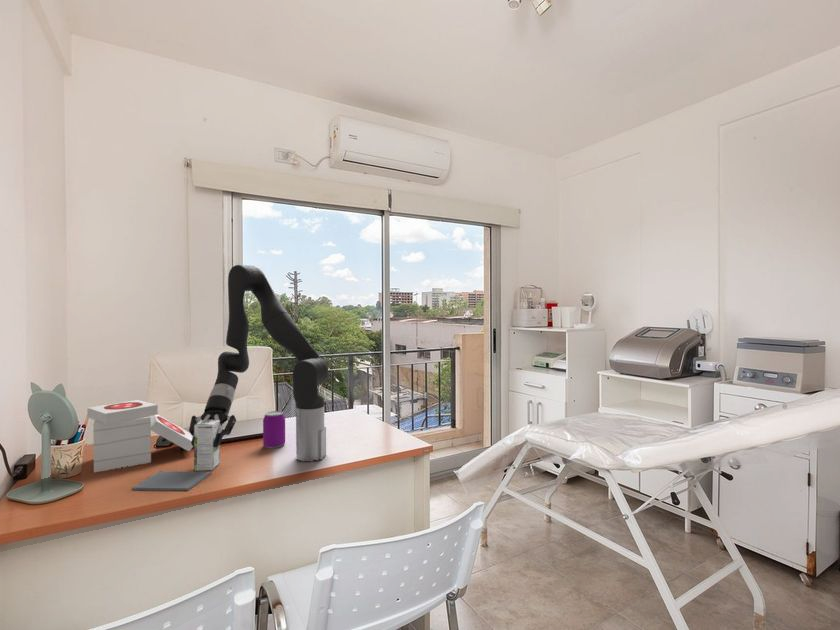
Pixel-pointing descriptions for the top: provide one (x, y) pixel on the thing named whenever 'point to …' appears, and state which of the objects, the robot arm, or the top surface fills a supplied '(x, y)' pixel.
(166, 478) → the slate mat
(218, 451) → the syrup box
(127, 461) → the pizza boxes
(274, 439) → the beverage can
